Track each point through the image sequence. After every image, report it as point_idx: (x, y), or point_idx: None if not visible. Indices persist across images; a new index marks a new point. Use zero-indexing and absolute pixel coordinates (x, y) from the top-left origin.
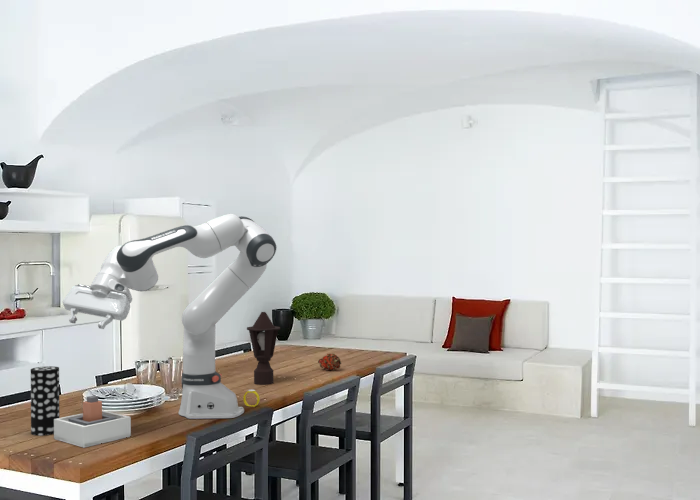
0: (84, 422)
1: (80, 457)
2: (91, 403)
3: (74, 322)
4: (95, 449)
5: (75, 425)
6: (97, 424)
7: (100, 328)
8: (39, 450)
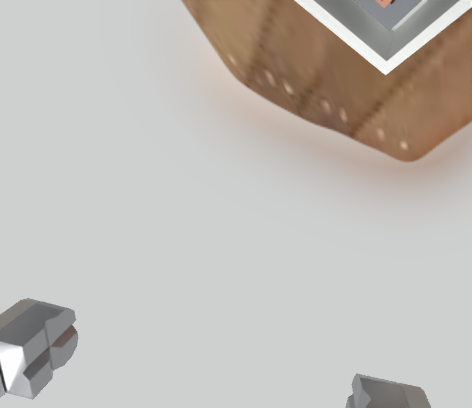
0: (375, 13)
1: (397, 114)
2: (389, 2)
3: (71, 323)
4: (430, 56)
5: (352, 46)
6: (430, 38)
7: (375, 383)
8: (286, 58)
